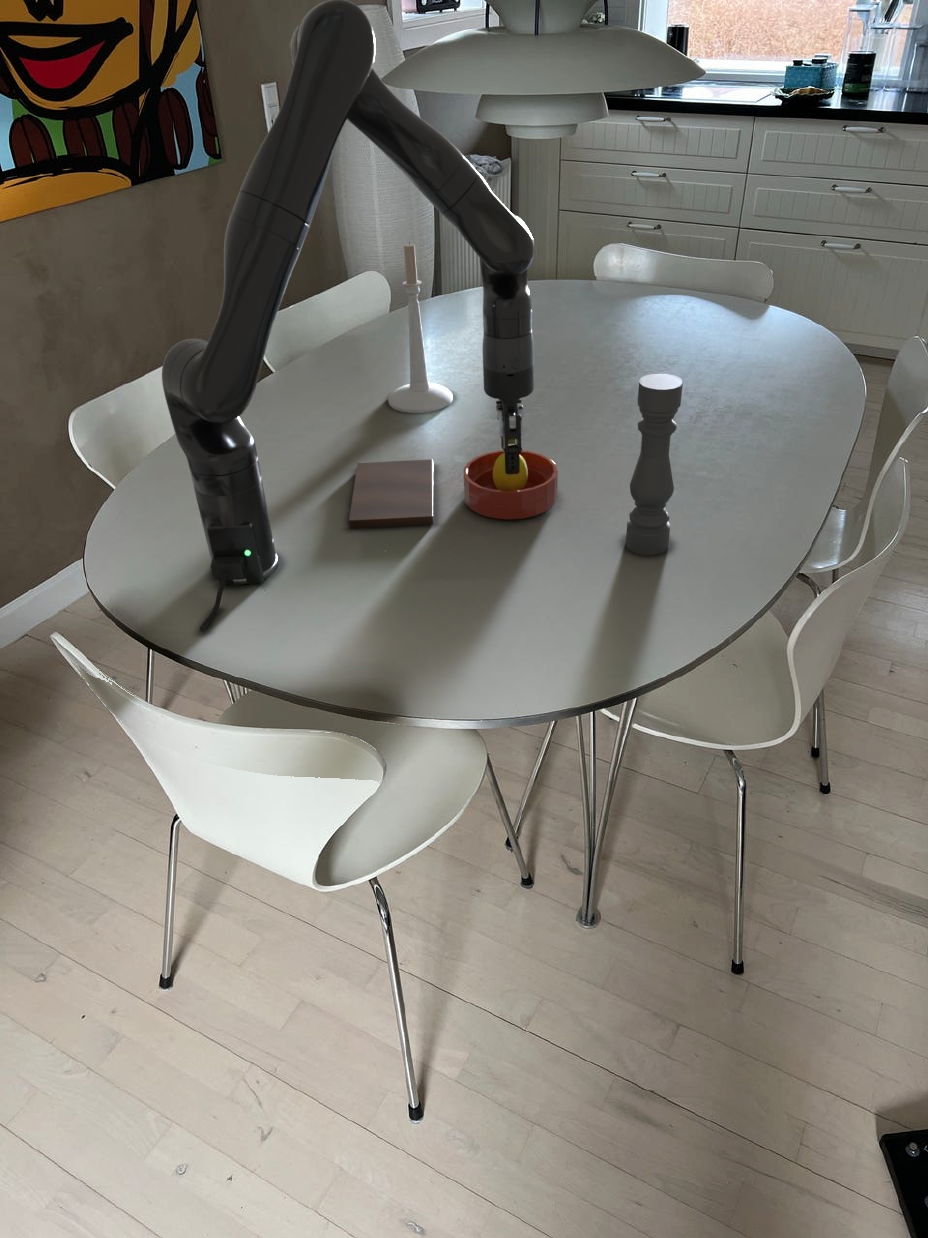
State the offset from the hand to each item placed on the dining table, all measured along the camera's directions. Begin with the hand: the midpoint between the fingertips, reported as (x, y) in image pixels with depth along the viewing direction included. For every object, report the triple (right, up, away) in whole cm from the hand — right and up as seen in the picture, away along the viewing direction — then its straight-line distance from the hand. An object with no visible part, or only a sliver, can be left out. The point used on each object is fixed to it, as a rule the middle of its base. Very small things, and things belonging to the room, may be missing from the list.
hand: (510, 460), depth 146 cm
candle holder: (+20, -14, -9) cm, 26 cm away
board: (-19, -5, +6) cm, 20 cm away
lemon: (0, -5, +3) cm, 6 cm away
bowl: (0, -6, +4) cm, 7 cm away
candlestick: (-16, +19, +39) cm, 46 cm away
